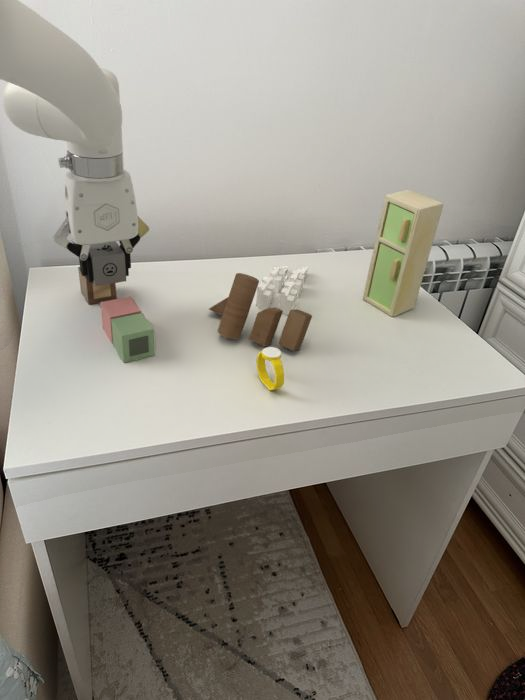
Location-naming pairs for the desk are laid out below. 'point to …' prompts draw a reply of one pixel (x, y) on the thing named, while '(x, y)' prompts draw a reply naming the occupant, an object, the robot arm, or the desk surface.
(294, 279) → the modular blocks
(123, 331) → the green cube
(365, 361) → the desk surface
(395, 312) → the toy refrigerator
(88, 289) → the brown cube
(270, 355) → the watch
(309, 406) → the desk surface
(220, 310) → the wooden block set
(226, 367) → the desk surface
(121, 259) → the dice cube
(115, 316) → the plain pink block
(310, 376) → the desk surface
